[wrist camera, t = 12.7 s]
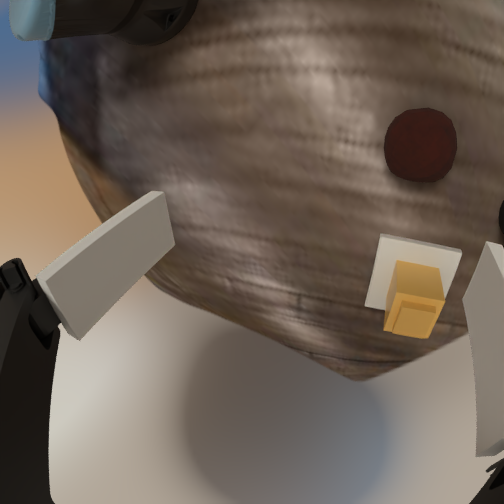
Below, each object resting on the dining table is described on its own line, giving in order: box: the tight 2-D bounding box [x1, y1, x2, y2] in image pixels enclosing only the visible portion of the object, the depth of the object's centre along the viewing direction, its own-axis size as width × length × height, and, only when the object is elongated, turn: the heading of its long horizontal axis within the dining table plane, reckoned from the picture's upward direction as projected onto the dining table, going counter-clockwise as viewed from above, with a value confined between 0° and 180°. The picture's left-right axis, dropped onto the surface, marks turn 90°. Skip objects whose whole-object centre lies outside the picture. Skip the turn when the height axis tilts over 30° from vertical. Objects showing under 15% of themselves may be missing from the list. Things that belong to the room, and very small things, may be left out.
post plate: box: [365, 233, 462, 310], centre depth 35 cm, size 12×12×6 cm
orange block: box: [384, 260, 445, 339], centre depth 33 cm, size 6×6×8 cm
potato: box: [384, 108, 457, 183], centre depth 25 cm, size 8×9×8 cm
